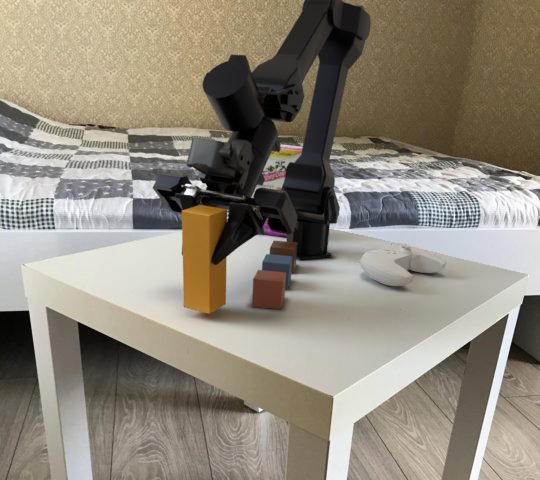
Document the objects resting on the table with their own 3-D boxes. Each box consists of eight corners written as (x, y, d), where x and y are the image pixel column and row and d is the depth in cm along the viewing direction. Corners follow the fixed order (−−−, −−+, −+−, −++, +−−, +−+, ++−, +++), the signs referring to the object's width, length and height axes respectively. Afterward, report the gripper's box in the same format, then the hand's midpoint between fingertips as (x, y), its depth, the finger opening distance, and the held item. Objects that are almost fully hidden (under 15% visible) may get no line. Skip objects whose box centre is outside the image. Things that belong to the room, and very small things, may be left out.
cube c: (256, 296, 83) (257, 269, 81) (284, 299, 82) (286, 272, 80) (252, 306, 79) (253, 278, 77) (280, 309, 79) (282, 281, 77)
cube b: (265, 278, 89) (266, 253, 88) (290, 281, 89) (292, 256, 87) (261, 287, 86) (262, 261, 84) (287, 290, 85) (289, 264, 84)
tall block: (200, 297, 78) (200, 204, 72) (226, 304, 76) (227, 209, 70) (183, 307, 75) (181, 210, 69) (209, 314, 73) (209, 215, 67)
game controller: (406, 275, 84) (354, 245, 89) (396, 300, 87) (346, 270, 92) (454, 257, 94) (404, 231, 99) (444, 280, 96) (396, 254, 101)
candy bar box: (243, 232, 113) (246, 143, 105) (252, 226, 117) (255, 141, 110) (298, 240, 110) (304, 149, 102) (305, 233, 114) (312, 146, 107)
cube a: (272, 263, 96) (273, 240, 94) (296, 265, 96) (297, 242, 94) (268, 271, 93) (270, 246, 91) (293, 273, 92) (295, 249, 90)
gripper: (158, 105, 71) (104, 211, 68) (293, 118, 64) (242, 237, 60) (194, 163, 81) (149, 258, 78) (315, 180, 74) (272, 286, 70)
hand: (198, 259), depth 71 cm, fingers closed on tall block, 4 cm apart
